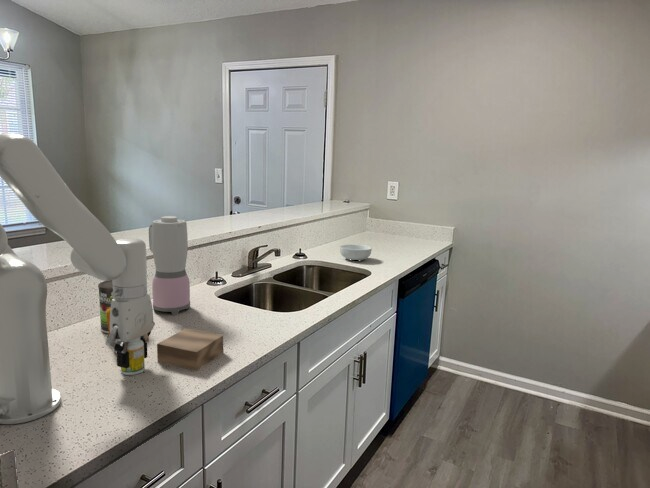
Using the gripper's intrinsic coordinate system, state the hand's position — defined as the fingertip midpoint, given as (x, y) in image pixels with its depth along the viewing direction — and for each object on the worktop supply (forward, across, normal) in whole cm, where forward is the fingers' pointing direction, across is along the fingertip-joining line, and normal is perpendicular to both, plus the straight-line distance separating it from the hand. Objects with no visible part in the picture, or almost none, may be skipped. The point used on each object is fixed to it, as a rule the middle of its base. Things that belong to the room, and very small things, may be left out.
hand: (132, 361), depth 111 cm
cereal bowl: (+1, +147, -14) cm, 148 cm away
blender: (+2, +41, +22) cm, 47 cm away
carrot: (+3, +9, +14) cm, 17 cm away
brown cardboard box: (+2, +12, -8) cm, 15 cm away
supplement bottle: (+3, 0, 0) cm, 3 cm away
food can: (+3, +20, +24) cm, 32 cm away
